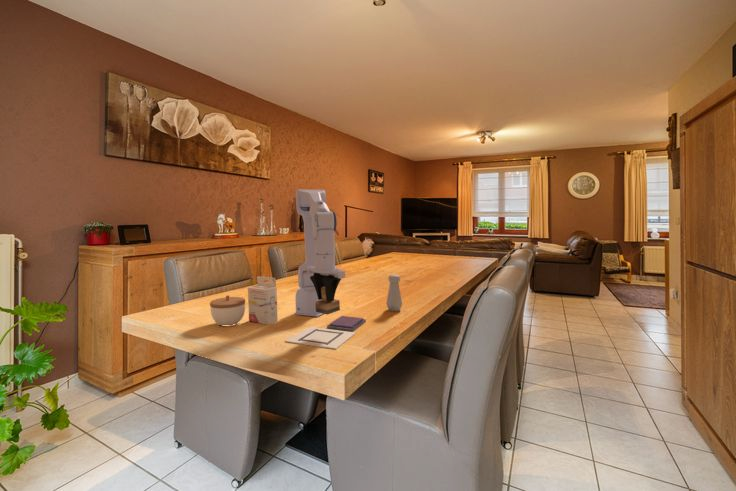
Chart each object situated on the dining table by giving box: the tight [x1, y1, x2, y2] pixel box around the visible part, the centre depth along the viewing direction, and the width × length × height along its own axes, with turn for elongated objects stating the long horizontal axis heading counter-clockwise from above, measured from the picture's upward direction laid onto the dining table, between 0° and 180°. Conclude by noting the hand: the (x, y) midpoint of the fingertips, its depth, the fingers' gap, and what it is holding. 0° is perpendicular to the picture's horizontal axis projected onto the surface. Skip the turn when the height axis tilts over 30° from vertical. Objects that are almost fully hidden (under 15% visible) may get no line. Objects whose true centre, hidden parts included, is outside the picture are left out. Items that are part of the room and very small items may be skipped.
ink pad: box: [326, 315, 367, 332], centre depth 113 cm, size 9×10×1 cm
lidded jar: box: [209, 295, 246, 326], centre depth 115 cm, size 11×11×9 cm
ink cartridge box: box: [247, 276, 278, 326], centre depth 117 cm, size 9×5×15 cm, turn 65°
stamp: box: [315, 287, 341, 315], centre depth 103 cm, size 5×5×7 cm
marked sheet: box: [284, 326, 357, 350], centre depth 101 cm, size 16×13×1 cm
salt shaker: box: [386, 274, 403, 312], centre depth 129 cm, size 6×6×13 cm
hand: (326, 300), depth 102 cm, fingers closed on stamp, 3 cm apart
